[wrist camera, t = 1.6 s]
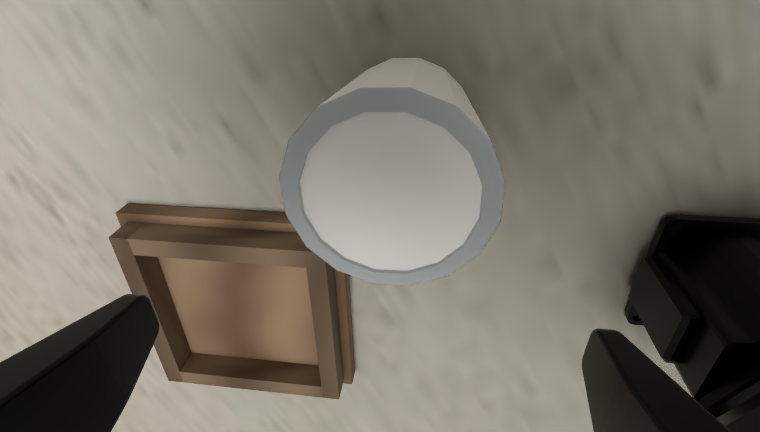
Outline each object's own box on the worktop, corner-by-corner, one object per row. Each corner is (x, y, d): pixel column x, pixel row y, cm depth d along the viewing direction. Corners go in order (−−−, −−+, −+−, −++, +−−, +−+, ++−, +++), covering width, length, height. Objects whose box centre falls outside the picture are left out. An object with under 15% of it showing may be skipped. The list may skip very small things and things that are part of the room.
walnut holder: (345, 216, 22) (334, 244, 20) (354, 371, 28) (347, 405, 26) (127, 203, 23) (95, 228, 21) (183, 353, 29) (163, 384, 27)
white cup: (462, 204, 20) (470, 305, 15) (323, 176, 21) (275, 266, 15) (507, 57, 17) (541, 114, 11) (337, 25, 17) (280, 63, 11)
